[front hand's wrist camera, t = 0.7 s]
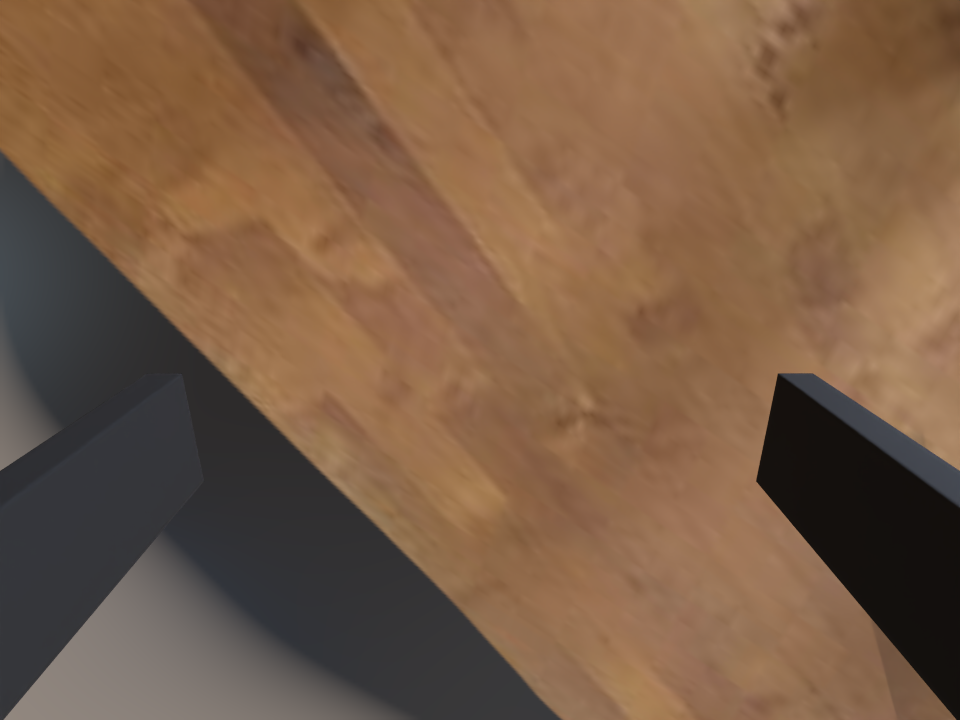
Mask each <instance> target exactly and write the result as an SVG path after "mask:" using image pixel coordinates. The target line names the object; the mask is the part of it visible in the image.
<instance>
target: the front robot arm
mask: <svg viewBox="0 0 960 720" xmlns="http://www.w3.org/2000/svg"><path fill="white" fill-rule="evenodd" d="M203 482H204V480H203V475H202V470H201V465H200V460H199V455H198V450H197V445H196V440H195V435H194V431H193V426H192V421H191V416H190V411H189V406H188V401H187V396H186V391H185V386H184V381H183V377H182V374H146V375H144V376H143V377H141V378H140V379H138V380H137V381H135V382H134V383H132V384H131V385H129V386H128V387H126V388H125V389H123V390H122V391H120V392H119V393H117V394H116V395H114V396H113V397H111V398H110V399H108V400H107V401H105V402H103V403H102V404H101V405H99V406H98V407H96V408H95V409H93V410H92V411H90V412H88V413H87V414H85V415H84V416H82V417H81V418H79V419H78V420H76V421H75V422H73V423H72V424H70V425H69V426H67V427H66V428H64V429H63V430H61V431H60V432H58V433H57V434H55V435H54V436H52V437H51V438H49V439H48V440H46V441H45V442H43V443H42V444H40V445H39V446H37V447H36V448H34V449H33V450H31V451H30V452H28V453H27V454H25V455H24V456H22V457H21V458H19V459H18V460H16V461H15V462H13V463H12V464H10V465H9V466H7V467H6V468H4V469H3V470H1V471H0V720H4V718H5V717H6V716H7V715H8V714H9V712H10V711H11V710H12V709H13V708H14V706H15V705H16V704H17V703H18V702H19V700H20V699H21V698H22V697H23V696H24V695H25V693H26V692H27V691H28V690H29V689H30V687H31V686H32V685H33V684H34V683H35V681H36V680H37V679H38V678H39V677H40V676H41V674H42V673H43V672H44V671H45V670H46V668H47V667H48V666H49V665H50V664H51V662H52V661H53V660H54V659H55V658H56V656H57V655H58V654H59V653H60V652H61V651H62V649H63V648H64V647H65V646H66V645H67V643H68V642H69V641H70V640H71V639H72V637H73V636H74V635H75V634H76V633H77V632H78V630H79V629H80V628H81V627H82V626H83V624H84V623H85V622H86V621H87V620H88V618H89V617H90V616H91V615H92V614H93V612H94V611H95V610H96V609H97V608H98V606H99V605H100V604H101V603H102V602H103V601H104V599H105V598H106V597H107V596H108V595H109V593H110V592H111V591H112V590H113V589H114V587H115V586H116V585H117V584H118V583H119V581H120V580H121V579H122V578H123V577H124V576H125V574H126V573H127V572H128V571H129V570H130V568H131V567H132V566H133V565H134V564H135V562H136V561H137V560H138V559H139V558H140V556H141V555H142V554H143V553H144V552H145V551H146V549H147V548H148V547H149V546H150V545H151V543H152V542H153V541H154V540H155V539H156V537H157V536H158V535H159V534H160V533H161V532H162V530H163V529H164V528H165V527H166V526H167V524H168V523H169V522H170V521H171V520H172V518H173V517H174V516H175V515H176V514H177V513H178V511H179V510H180V509H181V508H182V507H183V505H184V504H185V503H186V502H187V501H188V499H189V498H190V497H191V496H192V495H193V493H194V492H195V491H196V490H197V489H198V488H199V486H200V485H201V484H202V483H203ZM756 482H757V483H758V484H759V485H760V486H761V488H762V489H763V490H764V491H765V492H766V493H767V495H768V496H769V497H770V498H771V499H772V501H773V502H774V503H775V504H776V505H777V507H778V508H779V509H780V510H781V511H782V513H783V514H784V515H785V516H786V517H787V518H788V520H789V521H790V522H791V523H792V524H793V526H794V527H795V528H796V529H797V530H798V532H799V533H800V534H801V535H802V536H803V538H804V539H805V540H806V541H807V542H808V543H809V545H810V546H811V547H812V548H813V549H814V551H815V552H816V553H817V554H818V555H819V557H820V558H821V559H822V560H823V561H824V562H825V564H826V565H827V566H828V567H829V568H830V570H831V571H832V572H833V573H834V574H835V576H836V577H837V578H838V579H839V580H840V582H841V583H842V584H843V585H844V586H845V587H846V589H847V590H848V591H849V592H850V593H851V595H852V596H853V597H854V598H855V599H856V601H857V602H858V603H859V604H860V605H861V607H862V608H863V609H864V610H865V611H866V612H867V614H868V615H869V616H870V617H871V618H872V620H873V621H874V622H875V623H876V624H877V626H878V627H879V628H880V629H881V630H882V632H883V633H884V634H885V635H886V636H887V637H888V639H889V640H890V641H891V642H892V643H893V645H894V646H895V647H896V648H897V649H898V651H899V652H900V653H901V654H902V655H903V656H904V658H905V659H906V660H907V661H908V662H909V664H910V665H911V666H912V667H913V668H914V670H915V671H916V672H917V673H918V674H919V676H920V677H921V678H922V679H923V680H924V681H925V683H926V684H927V685H928V686H929V687H930V689H931V690H932V691H933V692H934V693H935V695H936V696H937V697H938V698H939V699H940V701H941V702H942V703H943V704H944V705H945V706H946V708H947V709H948V710H949V711H950V712H951V714H952V715H953V716H954V717H955V718H956V720H960V471H959V470H957V469H956V468H954V467H953V466H951V465H950V464H948V463H947V462H945V461H944V460H942V459H941V458H939V457H938V456H936V455H935V454H933V453H932V452H930V451H929V450H927V449H926V448H924V447H923V446H921V445H920V444H918V443H917V442H915V441H914V440H912V439H911V438H909V437H908V436H906V435H905V434H903V433H902V432H900V431H899V430H897V429H896V428H894V427H893V426H891V425H890V424H888V423H887V422H885V421H884V420H882V419H881V418H879V417H878V416H876V415H875V414H873V413H872V412H870V411H869V410H867V409H866V408H864V407H863V406H861V405H860V404H858V403H857V402H855V401H854V400H852V399H850V398H849V397H847V396H846V395H844V394H843V393H841V392H840V391H838V390H837V389H835V388H834V387H832V386H831V385H829V384H828V383H826V382H825V381H823V380H822V379H820V378H819V377H817V376H816V375H814V374H778V377H777V381H776V386H775V391H774V396H773V401H772V406H771V411H770V416H769V421H768V426H767V430H766V435H765V440H764V445H763V450H762V455H761V460H760V465H759V470H758V475H757V480H756Z"/></svg>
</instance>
